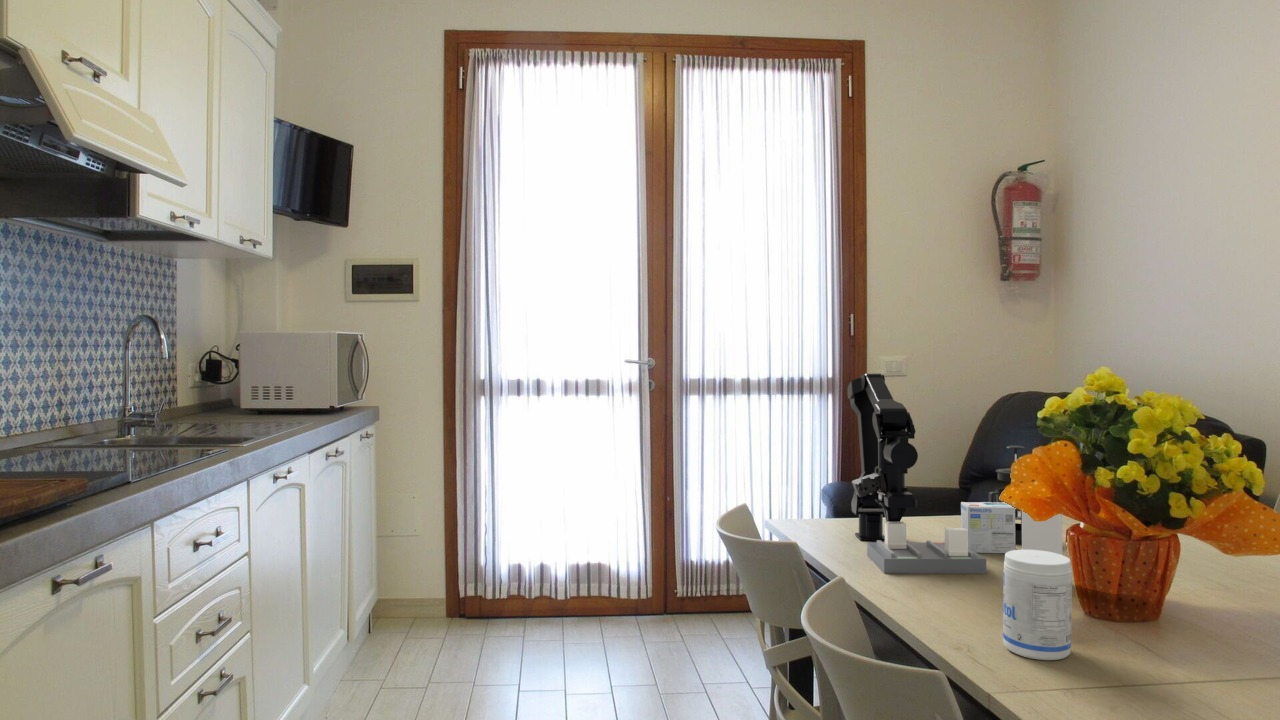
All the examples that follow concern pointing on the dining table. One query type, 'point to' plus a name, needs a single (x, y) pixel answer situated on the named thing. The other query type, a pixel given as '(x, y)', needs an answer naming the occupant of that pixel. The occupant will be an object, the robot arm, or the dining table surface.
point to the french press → (1003, 476)
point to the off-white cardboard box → (1042, 534)
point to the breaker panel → (924, 559)
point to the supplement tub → (1037, 604)
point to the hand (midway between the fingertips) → (891, 532)
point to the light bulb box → (989, 526)
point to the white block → (895, 535)
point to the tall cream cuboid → (956, 541)
